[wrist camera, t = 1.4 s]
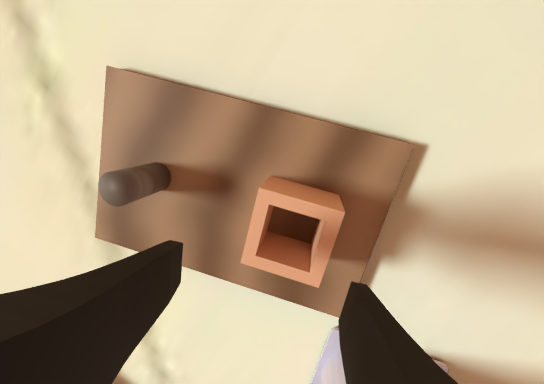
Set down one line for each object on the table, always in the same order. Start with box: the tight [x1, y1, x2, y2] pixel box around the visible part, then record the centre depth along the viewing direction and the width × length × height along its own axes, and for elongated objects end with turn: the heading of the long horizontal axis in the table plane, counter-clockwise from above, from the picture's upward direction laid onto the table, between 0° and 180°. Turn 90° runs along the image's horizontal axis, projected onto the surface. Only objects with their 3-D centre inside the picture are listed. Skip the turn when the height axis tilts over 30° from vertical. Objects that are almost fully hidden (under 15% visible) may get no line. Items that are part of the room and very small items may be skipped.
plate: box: [95, 66, 414, 318], centre depth 18 cm, size 22×14×6 cm, turn 76°
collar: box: [241, 176, 345, 288], centre depth 17 cm, size 5×5×4 cm
